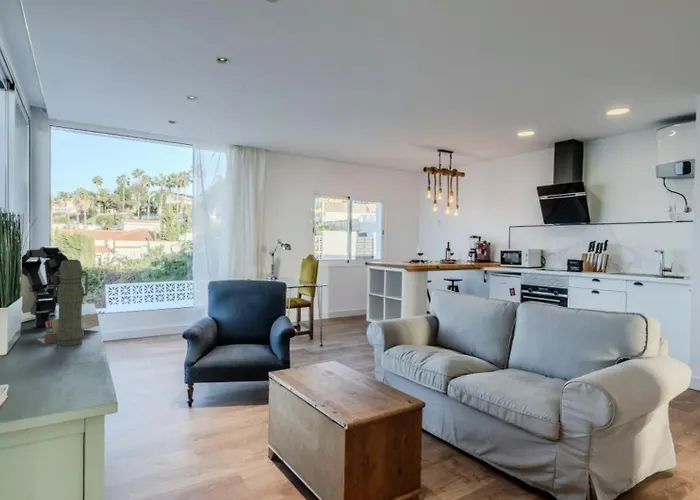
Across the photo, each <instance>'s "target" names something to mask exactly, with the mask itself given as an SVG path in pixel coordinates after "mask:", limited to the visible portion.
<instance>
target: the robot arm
mask: <svg viewBox="0 0 700 500" xmlns="http://www.w3.org/2000/svg"><path fill="white" fill-rule="evenodd" d="M21 257H22V273H21V275H24V277H25V276H26V278H27V280H28V283H29V287H28V290H29V292H30V293H33V296H34V301H33V303H32V306H31V307H30V315H33V316H35V318H34V320H35V321H34V322H35V323H34V324H33V325H32V326H33V328H44V327H45V321H50V319H51V314H55V312H56V307H57V305H59V304H58V302H57V301H58V298H57V297H55V296H54V295H53V275H54V274H55V273H56V272H59V271H60V266H61V263H62V261H64V260H69V258H68V256H66V255H65V254H64V253H63V251H62V250H61V249H60V247H59V246H47V245H46V246H41V247H40V248H38V249H27V251H26V253H25V254H24V255H22V256H21ZM31 258H34V259H31ZM35 258H37V259H35ZM42 259H45V261H44V262H43V266H44V269H45V270H44V271H45V280H46V284H43V282H42V279H41V276H40V273H39V271H40V268H41V265H42ZM59 285H60V274H59V273H58V274H57V275H56V294H58V288H59ZM45 328H46V327H45Z"/></svg>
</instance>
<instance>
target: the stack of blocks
mask: <svg viewBox="0 0 700 500" xmlns="http://www.w3.org/2000/svg"><path fill="white" fill-rule="evenodd" d="M99 321H100V320H99V316H98V312H97V313H87V314H82V318H81V327H82V329H84V330H86V329H92V328H95V327H99V326H100V322H99ZM58 325H59V318H58V319H51V320H50V321H45V334H49V333H57V330H58Z"/></svg>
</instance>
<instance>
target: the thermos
mask: <svg viewBox="0 0 700 500" xmlns="http://www.w3.org/2000/svg"><path fill="white" fill-rule="evenodd" d="M58 273H59V274H60V285H58V286H59V288H58V294H56V290H57V288H56V275H57V274H58ZM83 274H84V275H85V277H84V278H85V283H84V285H85V287H83V285H82V278H83ZM88 276H89V274H88V272H87V271H85V270H83V266H82V263H81V261H80V260H78V259H68V260H64V261H62V263H61V266H60V271H59V272H56V273H55V274H54V275H53V295H54V296H55V297H57V298H58V301H57V302H58V304H57V305H58V319H59V325H58V330H57V343H56V347H58V348H71V347H77V346H80V345H82V344H83V339H82V337H83V330H82V327H81V318H82V315H83V313H82V312H83V311H82V310H83V309H82V308H83V305H82V304H83V302H84V297H87V296H88V291H89V289H88V288H89V287H88V286H89V285H88V284H89V277H88ZM84 288H85V289H84ZM84 290H85V291H84Z"/></svg>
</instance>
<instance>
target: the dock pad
mask: <svg viewBox="0 0 700 500" xmlns="http://www.w3.org/2000/svg"><path fill="white" fill-rule="evenodd" d="M82 330H83V337H82V340H84V339H85V329H82ZM37 340H38V341H39V342H41V343H42V344H44V345H49V344H57V333H49V334H47V333H44V337H43V338H42V337H41V338H37Z"/></svg>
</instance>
